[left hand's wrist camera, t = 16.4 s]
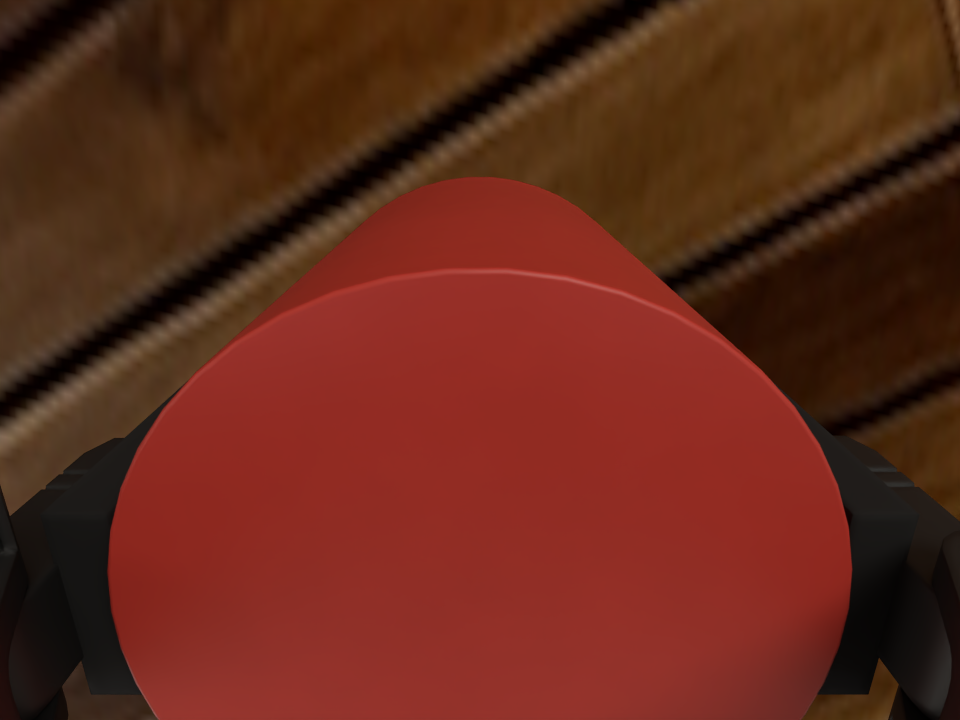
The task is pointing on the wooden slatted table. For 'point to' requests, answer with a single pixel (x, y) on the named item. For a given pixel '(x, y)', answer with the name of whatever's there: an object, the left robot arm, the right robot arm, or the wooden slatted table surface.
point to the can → (479, 494)
